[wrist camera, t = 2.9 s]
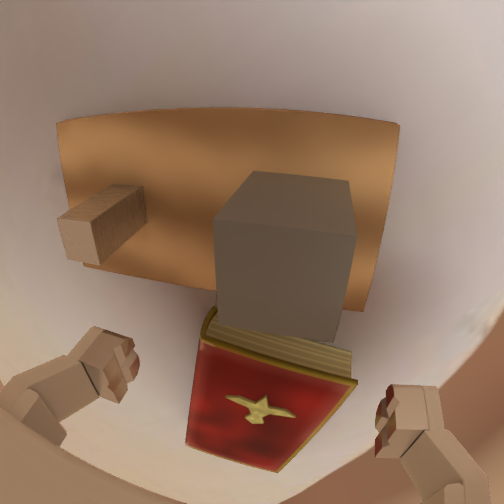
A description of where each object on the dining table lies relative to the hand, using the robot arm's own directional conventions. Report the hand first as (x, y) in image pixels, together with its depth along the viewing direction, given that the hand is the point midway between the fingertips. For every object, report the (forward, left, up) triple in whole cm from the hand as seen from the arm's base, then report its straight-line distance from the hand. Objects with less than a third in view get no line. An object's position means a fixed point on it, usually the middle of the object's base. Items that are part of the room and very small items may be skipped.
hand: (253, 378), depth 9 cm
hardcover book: (+20, -2, -13) cm, 23 cm away
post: (0, -11, -11) cm, 15 cm away
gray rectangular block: (0, 0, -11) cm, 11 cm away
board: (0, -6, -12) cm, 13 cm away
